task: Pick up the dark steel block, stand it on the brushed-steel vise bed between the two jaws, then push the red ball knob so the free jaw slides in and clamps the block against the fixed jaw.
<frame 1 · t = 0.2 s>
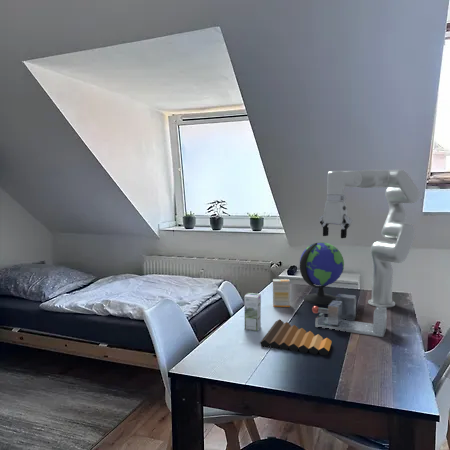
hand: (334, 236, 190), 36 cm above the table, tool pointing down, fingers open, 9 cm apart
steel block: (345, 317, 190), on the table
free jaw: (325, 311, 181), point 6 cm above the table, slide at 0.0 cm
syrup box: (252, 329, 177), on the table
globe: (320, 300, 219), on the table
vise bed: (350, 327, 177), on the table
pan flute: (299, 340, 165), on the table
supplement box: (281, 306, 209), on the table
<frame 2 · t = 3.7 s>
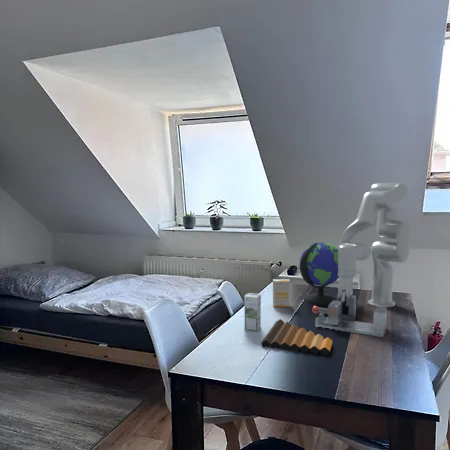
hand: (345, 312, 190), 2 cm above the table, tool pointing down, fingers closed on steel block, 5 cm apart
steel block: (345, 317, 190), on the table, touching gripper
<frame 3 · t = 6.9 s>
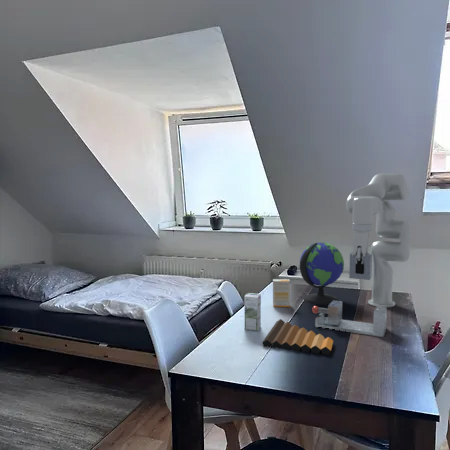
hand: (360, 271, 173), 24 cm above the table, tool pointing down, fingers closed on steel block, 5 cm apart
steel block: (360, 277, 173), point 22 cm above the table, touching gripper
when the fingers open (5 cm above the table, at t = 10.2 s): steel block drops 1 cm, resting on vise bed.
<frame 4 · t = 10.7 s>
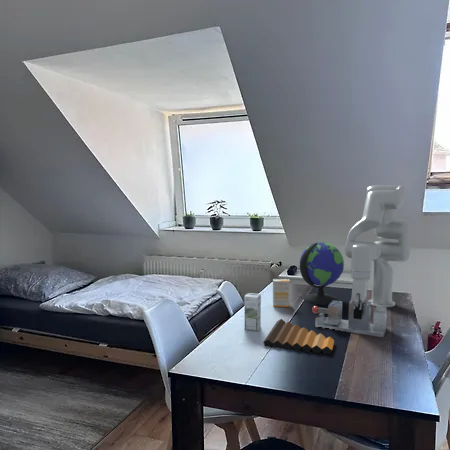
hand: (359, 315, 175), 6 cm above the table, tool pointing down, fingers open, 9 cm apart
steel block: (359, 325, 176), point 1 cm above the table, touching vise bed
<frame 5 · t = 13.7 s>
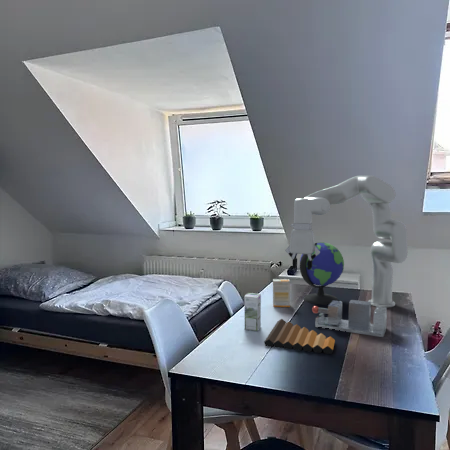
hand: (302, 268, 184), 24 cm above the table, tool pointing down, fingers open, 5 cm apart
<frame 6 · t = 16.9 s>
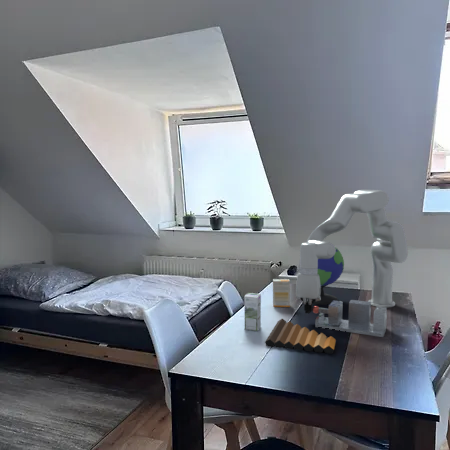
hand: (308, 312, 185), 4 cm above the table, tool pointing down, fingers closed
free jaw: (326, 311, 181), point 6 cm above the table, slide at 0.2 cm, touching gripper
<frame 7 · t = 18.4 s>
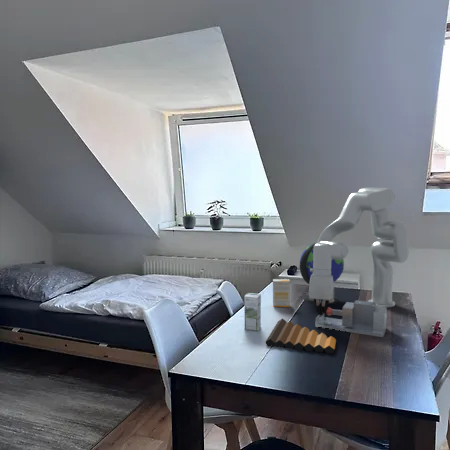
hand: (321, 314, 182), 4 cm above the table, tool pointing down, fingers closed
steel block: (364, 326, 175), point 1 cm above the table, touching free jaw, vise bed
free jaw: (339, 312, 178), point 6 cm above the table, slide at 5.9 cm, touching gripper, steel block
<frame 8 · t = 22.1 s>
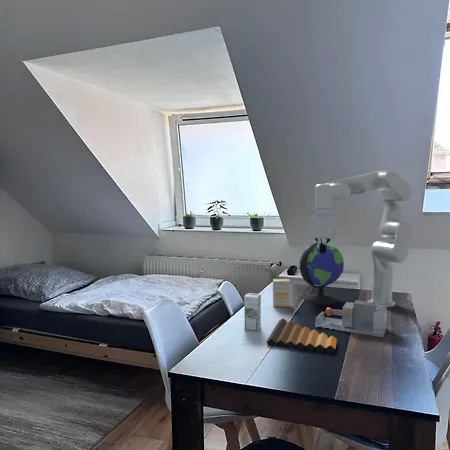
hand: (322, 253, 189), 29 cm above the table, tool pointing down, fingers closed
steel block: (364, 326, 175), point 1 cm above the table, touching vise bed
free jaw: (339, 312, 178), point 6 cm above the table, slide at 5.8 cm
at the end: steel block inside the target area (1.2 cm from its centre), point 1.2 cm above the table; steel block tilted 0°; free jaw slide at 5.8 cm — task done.
